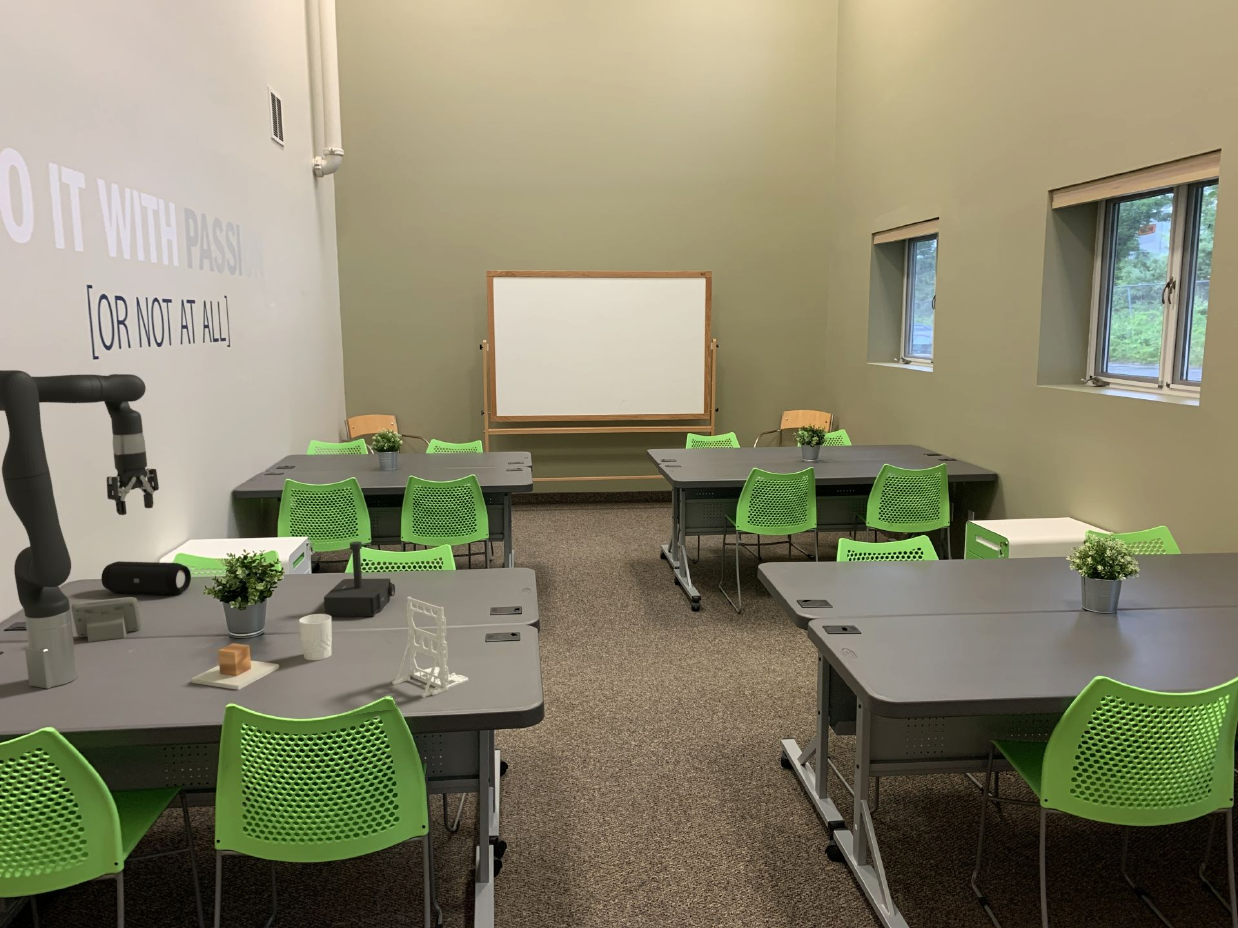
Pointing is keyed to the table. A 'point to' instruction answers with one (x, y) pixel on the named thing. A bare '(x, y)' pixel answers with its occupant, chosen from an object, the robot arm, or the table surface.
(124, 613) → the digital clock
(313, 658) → the white cup
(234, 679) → the pad
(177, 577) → the portable speaker
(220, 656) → the orange block
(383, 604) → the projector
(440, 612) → the film strip holder
